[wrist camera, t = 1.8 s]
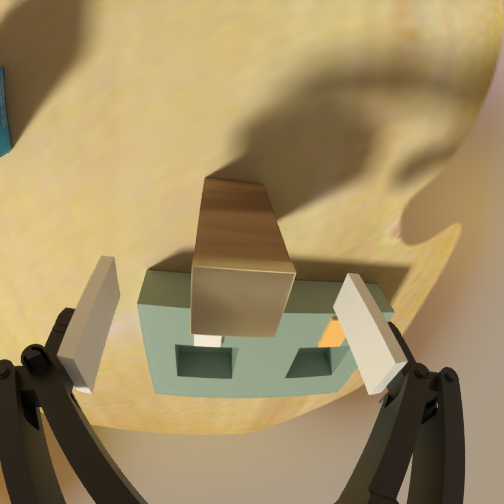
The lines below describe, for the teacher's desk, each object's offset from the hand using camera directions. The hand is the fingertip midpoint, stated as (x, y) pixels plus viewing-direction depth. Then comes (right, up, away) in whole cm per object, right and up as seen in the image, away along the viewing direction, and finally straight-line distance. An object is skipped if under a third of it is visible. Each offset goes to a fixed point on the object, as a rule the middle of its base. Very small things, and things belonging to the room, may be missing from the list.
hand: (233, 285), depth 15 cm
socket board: (+2, -7, +16) cm, 18 cm away
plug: (-1, +5, +7) cm, 9 cm away
